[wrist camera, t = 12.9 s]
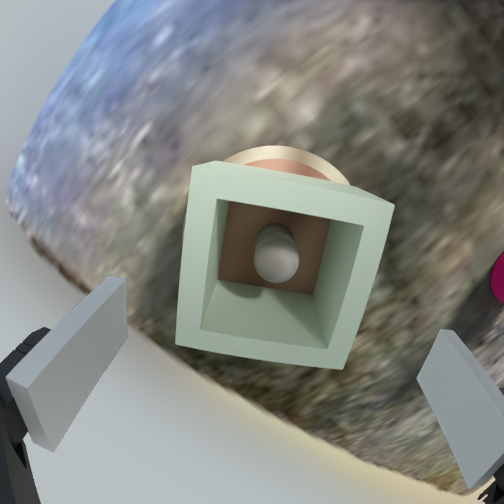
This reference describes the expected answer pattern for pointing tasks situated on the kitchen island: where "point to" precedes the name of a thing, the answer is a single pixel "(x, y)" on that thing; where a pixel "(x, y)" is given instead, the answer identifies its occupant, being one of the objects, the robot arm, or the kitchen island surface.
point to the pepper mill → (498, 279)
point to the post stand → (276, 228)
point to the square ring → (274, 300)
